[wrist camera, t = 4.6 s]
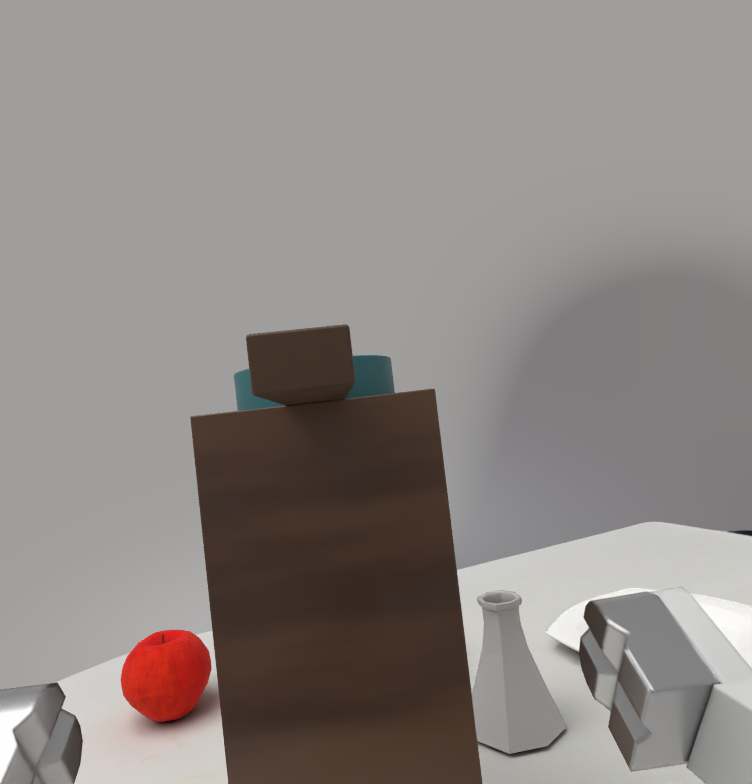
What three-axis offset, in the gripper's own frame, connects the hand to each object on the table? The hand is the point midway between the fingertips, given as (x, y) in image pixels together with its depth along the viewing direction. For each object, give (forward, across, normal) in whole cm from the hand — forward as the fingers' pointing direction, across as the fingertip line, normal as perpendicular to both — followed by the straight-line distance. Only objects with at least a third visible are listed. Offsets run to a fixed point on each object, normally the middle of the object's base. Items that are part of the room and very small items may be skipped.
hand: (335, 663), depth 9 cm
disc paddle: (+15, 0, -3) cm, 15 cm away
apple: (+29, -18, -41) cm, 53 cm away
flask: (+19, +12, -36) cm, 43 cm away
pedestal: (+6, 0, -28) cm, 29 cm away
